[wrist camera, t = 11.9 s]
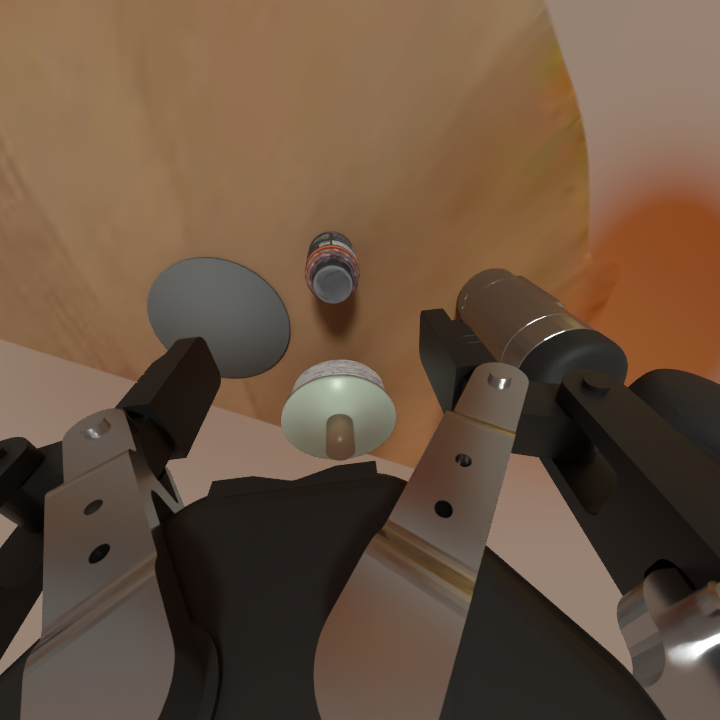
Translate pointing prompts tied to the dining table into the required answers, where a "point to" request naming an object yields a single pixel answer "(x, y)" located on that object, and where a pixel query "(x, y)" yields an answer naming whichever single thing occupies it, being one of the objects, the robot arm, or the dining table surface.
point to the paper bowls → (338, 371)
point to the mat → (221, 314)
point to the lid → (338, 416)
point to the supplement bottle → (331, 268)
